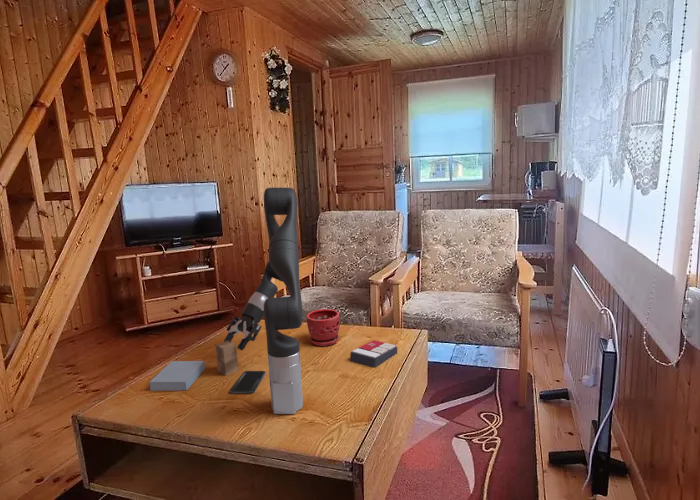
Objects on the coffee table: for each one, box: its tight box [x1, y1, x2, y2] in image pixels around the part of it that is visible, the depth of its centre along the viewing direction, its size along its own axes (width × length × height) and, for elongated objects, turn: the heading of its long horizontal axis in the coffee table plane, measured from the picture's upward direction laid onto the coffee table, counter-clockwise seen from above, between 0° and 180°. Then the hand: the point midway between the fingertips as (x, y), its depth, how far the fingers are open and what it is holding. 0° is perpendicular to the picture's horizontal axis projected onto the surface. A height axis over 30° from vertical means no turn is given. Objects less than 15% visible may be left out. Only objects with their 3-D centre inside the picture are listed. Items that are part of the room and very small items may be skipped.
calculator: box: [350, 339, 398, 369], centre depth 167 cm, size 11×4×15 cm
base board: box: [149, 360, 206, 392], centre depth 154 cm, size 16×12×3 cm
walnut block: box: [214, 341, 239, 377], centre depth 159 cm, size 5×5×10 cm
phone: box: [229, 370, 267, 395], centre depth 150 cm, size 8×1×15 cm
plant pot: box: [306, 308, 341, 347], centre depth 182 cm, size 13×13×12 cm
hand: (232, 346), depth 160 cm, fingers open, 8 cm apart
